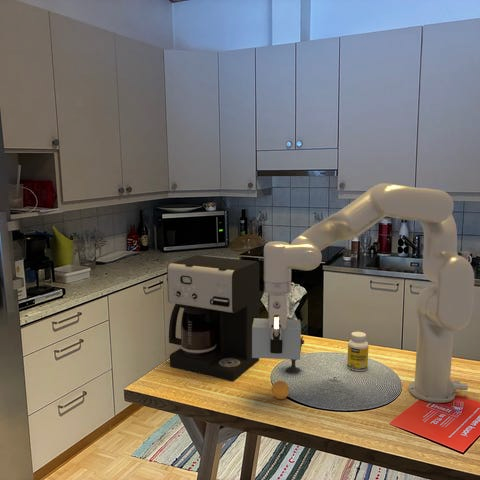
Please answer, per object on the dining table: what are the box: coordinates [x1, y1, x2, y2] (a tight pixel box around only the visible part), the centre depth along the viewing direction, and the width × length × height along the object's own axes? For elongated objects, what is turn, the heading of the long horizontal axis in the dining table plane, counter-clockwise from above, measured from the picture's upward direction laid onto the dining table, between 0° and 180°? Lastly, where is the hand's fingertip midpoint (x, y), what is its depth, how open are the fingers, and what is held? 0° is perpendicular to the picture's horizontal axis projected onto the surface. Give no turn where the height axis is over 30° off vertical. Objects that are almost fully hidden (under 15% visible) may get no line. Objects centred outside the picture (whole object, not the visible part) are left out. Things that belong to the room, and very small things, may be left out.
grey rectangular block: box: [252, 317, 302, 361], centre depth 136 cm, size 13×8×9 cm, turn 85°
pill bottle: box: [346, 331, 369, 372], centre depth 158 cm, size 6×6×12 cm
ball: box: [271, 380, 290, 400], centre depth 138 cm, size 5×5×5 cm
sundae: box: [285, 335, 305, 374], centre depth 156 cm, size 7×7×15 cm
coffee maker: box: [166, 254, 260, 382], centre depth 161 cm, size 28×20×35 cm
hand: (276, 346), depth 136 cm, fingers closed on grey rectangular block, 7 cm apart
